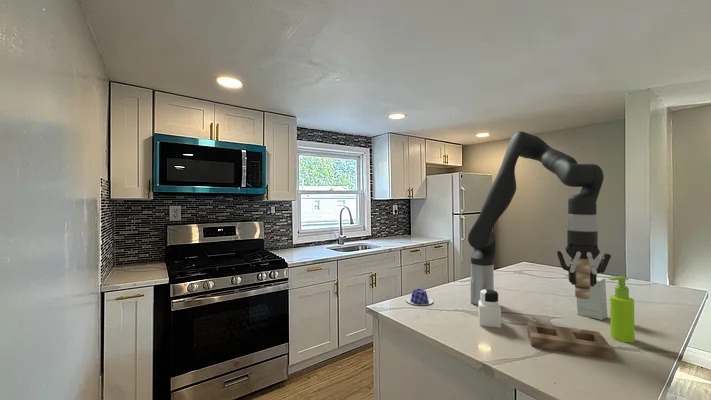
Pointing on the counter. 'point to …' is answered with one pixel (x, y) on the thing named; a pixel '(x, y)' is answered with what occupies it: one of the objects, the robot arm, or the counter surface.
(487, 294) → the medicine bottle
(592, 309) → the skincare box
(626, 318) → the soap dispenser
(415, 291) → the pudding
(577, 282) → the peg
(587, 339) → the board
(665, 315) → the counter surface
